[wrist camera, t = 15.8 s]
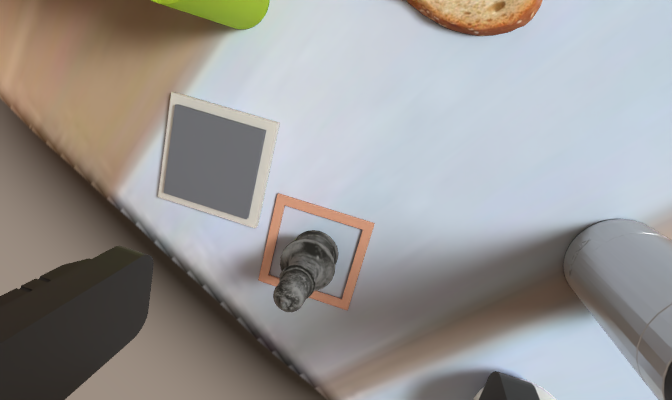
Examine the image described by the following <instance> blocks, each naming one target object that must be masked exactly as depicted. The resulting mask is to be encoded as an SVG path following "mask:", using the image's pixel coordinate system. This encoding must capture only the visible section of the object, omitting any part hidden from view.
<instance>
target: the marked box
mask: <svg viewBox="0 0 672 400" xmlns="http://www.w3.org/2000/svg"><path fill="white" fill-rule="evenodd" d="M285 205H286V206H289V207H292V208H295V209H298V210H302V211H305V212H308V213H311V214H314V215H318V216H321V217H324V218H327V219H330V220H333V221H337V222H340V223H343V224H346V225H349V226H352V227H356V228H359V229H362V230H363V231H362V234H361V238H360V241H359V244H358V247H357V251H356V254H355V257H354V261H353V264H352V267H351V271H350V274H349V277H348V280H347V284H346V287H345V290H344V294H343V297H342V299H340V298H337V297H334V296H331V295H328V294H325V293H322V292H319V291H314V292H313V293H312V295H311V296H310V297H309V298H312V299H315V300H318V301H321V302H324V303H327V304H330V305H333V306H336V307H339V308H342V309H345V310H348V307H349V304H350V301H351V298H352V295H353V291H354V288H355V285H356V282H357V278H358V275H359V272H360V269H361V266H362V262H363V259H364V256H365V253H366V250H367V246H368V243H369V240H370V237H371V234H372V230H373V227H374V224H375V223H372V222H369V221H366V220H363V219H359V218H356V217H353V216H350V215H347V214H343V213H340V212H337V211H334V210H331V209H327V208H324V207H321V206H318V205H314V204H311V203H308V202H305V201H302V200H298V199H295V198H292V197H289V196H286V195H282V194H279V193H278V194H277V199H276V203H275V208H274V212H273V217H272V221H271V226H270V230H269V235H268V239H267V244H266V248H265V252H264V257H263V261H262V266H261V270H260V275H259V279H258V280H259V281H262V282H264V283H267V284H270V285H273V286H276V287H277V285H278V284H279V278H277V277H274V276H271V275H269V271H270V267H271V263H272V259H273V254H274V250H275V246H276V241H277V237H278V233H279V228H280V224H281V220H282V215H283V211H284V207H285Z"/></svg>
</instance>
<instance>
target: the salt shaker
mask: <svg viewBox="0 0 672 400" xmlns="http://www.w3.org/2000/svg"><path fill="white" fill-rule="evenodd" d="M337 259H338V249H337V246H336V244H335V242H334V241H333V240H332V238H331V237H330V236H328V235H327V234H325V233H323V232H320V231H315V230H312V231H306V232H304V233H302V234H301V235H299V236H298V237H297V239H296V240H295V241H294V242H292V243H290V244H289V245H288V246H287V247H286V248H285V249H284V251H283V253H282V256H281V261H280V266H281V270H282V272H281V274H280V277H279V284H278V285H277V287H276V288H275V290H274V294H273V298H274V302H275V304H276V305H277V306H278V307H279V308H280V309H281V310H283V311H285V312H294V311H297V310H298V309H299V308H301V306H302V305H303V303H304V301H305V299H306V298H308V297H310V296H311V295H312V293H313V292H314V291H317V290H319V289H322V288H324V287H325V286H327V285H328V284H329V283H330V281H331V280H332V278H333V276H334V273H335V264H336V262H337Z"/></svg>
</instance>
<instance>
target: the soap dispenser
mask: <svg viewBox="0 0 672 400" xmlns="http://www.w3.org/2000/svg"><path fill="white" fill-rule="evenodd" d="M151 1H153V2H156V3H159V4H162V5H165V6H168V7H171V8H174V9H177V10H180V11H183V12H186V13H189V14H192V15H196V16H199V17H202V18H205V19H208V20H211V21H214V22H217V23H220V24H223V25H226V26H229V27H232V28H235V29H249V28H251V27H254V26H255V25H257V24H258V23H259V22H260V21H261V20H262V19H263V18H264V16H265V14H266V12H267V10H268V6H269V0H151Z"/></svg>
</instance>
